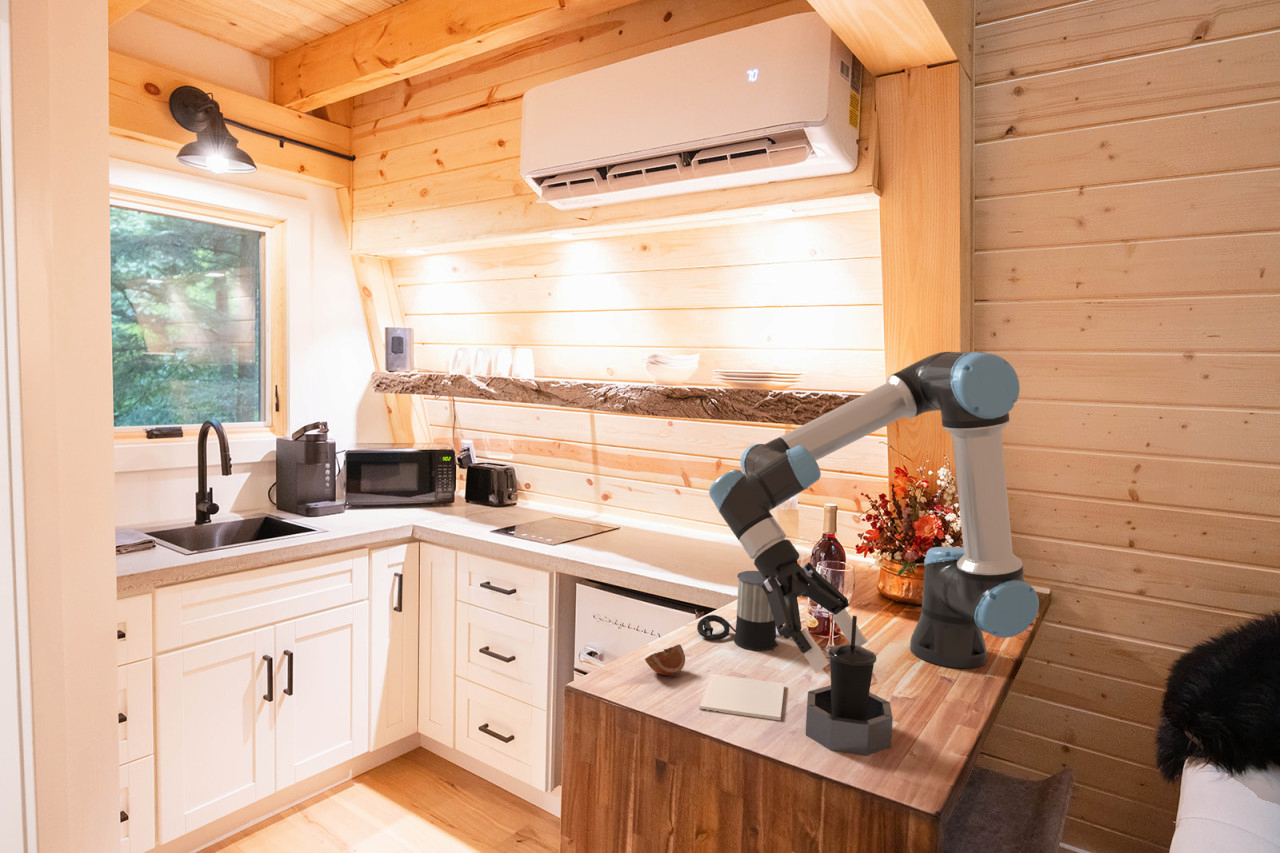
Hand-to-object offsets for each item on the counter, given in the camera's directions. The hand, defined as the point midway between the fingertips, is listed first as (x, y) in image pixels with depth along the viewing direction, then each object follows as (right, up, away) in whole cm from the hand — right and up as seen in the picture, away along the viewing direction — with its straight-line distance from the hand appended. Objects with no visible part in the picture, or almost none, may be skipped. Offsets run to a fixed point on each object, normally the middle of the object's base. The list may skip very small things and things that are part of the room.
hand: (842, 656), depth 128 cm
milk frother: (-13, -9, +41) cm, 43 cm away
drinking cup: (+1, -13, +1) cm, 13 cm away
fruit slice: (-29, -10, +22) cm, 38 cm away
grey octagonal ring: (+1, -13, +1) cm, 13 cm away
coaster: (-15, -11, +13) cm, 22 cm away
